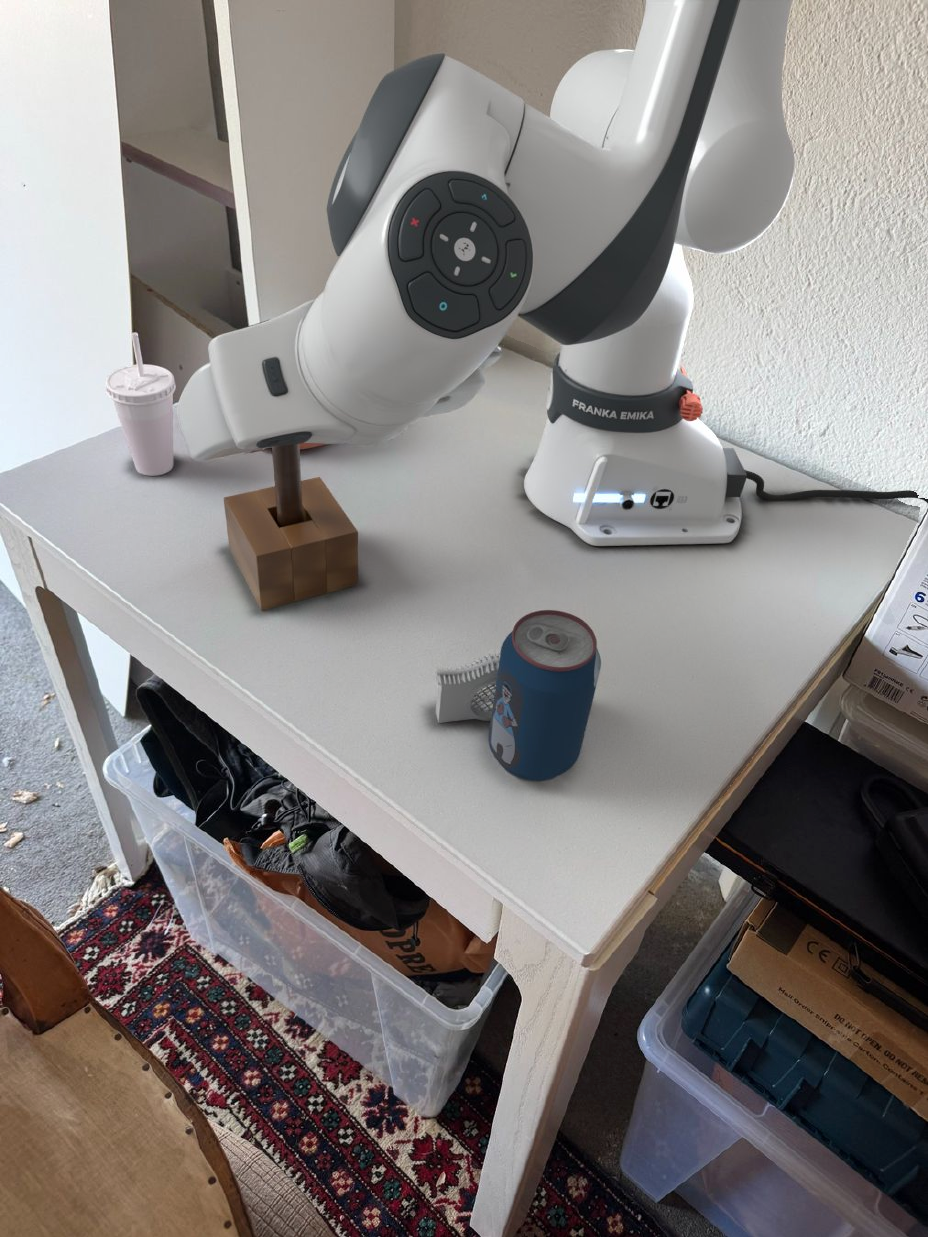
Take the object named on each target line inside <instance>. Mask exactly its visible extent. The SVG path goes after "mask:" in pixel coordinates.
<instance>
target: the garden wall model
mask: <svg viewBox="0 0 928 1237" xmlns="http://www.w3.org/2000/svg"><path fill="white" fill-rule="evenodd" d="M500 654H501V653H498V655H497V654H496V653H493V654H492V655H491V654H490V653H488V654H487V656H483V658H479V657H478V658H477V661H476V660H474V661H473V663H471V662H470V663H469V665H467V664H464V666H462V665H459V668H457V667H454V668H453V667H449V668H448V667H445V668H444V667H440V669H439V668H438V667H436V668H435V669H434V674H435V678H436V683H437V691H436V703H435V704H436V705H435V715H436V718H437V723H438V724H440V723H449V722H458V721H465V720H466V721H467V720H478V721H479V720H480V721H483V722H486V721H487V722H491V716H492V709H493V702H494V695H495V688H496V681H497V674H498V667H499V660H500ZM478 699H479V700H478ZM486 699H487V700H486Z"/></svg>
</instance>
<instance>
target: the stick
mask: <svg viewBox="0 0 928 1237" xmlns="http://www.w3.org/2000/svg"><path fill="white" fill-rule="evenodd" d="M271 450H272V451H271V452H272V454H271V455H272V464H273V465H272V466H273V476H274V477H273V479H274V481H273V482H274V486H275V495H276V508H277V522H278V527H279V528H281V527H285V526H289V525H294V524H298V523H302V522H303V509H302V489H301V481H302V473H301V452H300V451H301V449H299V444H290V445H281V446H275V447H272V448H271Z"/></svg>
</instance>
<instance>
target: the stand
mask: <svg viewBox="0 0 928 1237" xmlns="http://www.w3.org/2000/svg"><path fill="white" fill-rule="evenodd" d="M301 489H302V509H303V522H302V523H298V524H294V525H289V526H285V527H281V528H279V527H278V522H277V508H276V495H275V485H274V486H269V487H265V488H260V489H256V490H252V491H247V492H243V493H239V494H233V495H229V496H224V497H223V505H224V514H225V523H226V531H227V540H228V548H229V553H230V554H231V556H232V558H233V560H234V562H235V563H236V565H237V567H238V569H239V571H240V573H241V575H242V577H243V579H244V581H245V582H246V584H247V586H248V588H249V590H250V591H251V594H252V596H253V597H254V599H255V601H256V603H257V605H258V607H259V609H260V611H265V610H269V609H272V608H276V607H280V606H281V607H282V606H285V605H288V604H292V603H295V602H300V601H303V600H308V599H310V598H314V597H318V596H323V595H326V594H330V593H332V592H337V591H340V590H344V589H347V588H351V587H356V586H358V585H359V531H358V529H357V528H356V527H355V525H354V524H353V521H352V520H351V519H350V518H349V516H348V515H347V514H346V511H344V510H343V507H341V505H340V504H339V502H338V501H337V499H336V498H335V496H334V495H333V493H332V492H331V491H330V489H329V488H328V487H327V485H326V483H325V482H324V481H323V479H322V478H321V476H317V477H311V478H308V479H304V480H303V479H302V480H301Z"/></svg>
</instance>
